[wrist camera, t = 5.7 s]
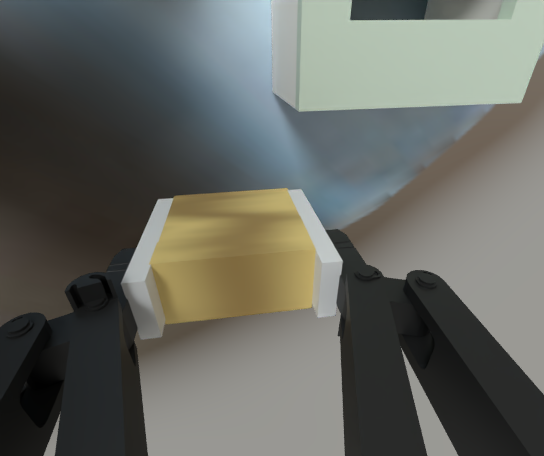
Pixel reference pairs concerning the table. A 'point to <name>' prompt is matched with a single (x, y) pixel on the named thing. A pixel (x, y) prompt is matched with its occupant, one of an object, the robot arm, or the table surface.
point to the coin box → (404, 54)
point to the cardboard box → (233, 256)
